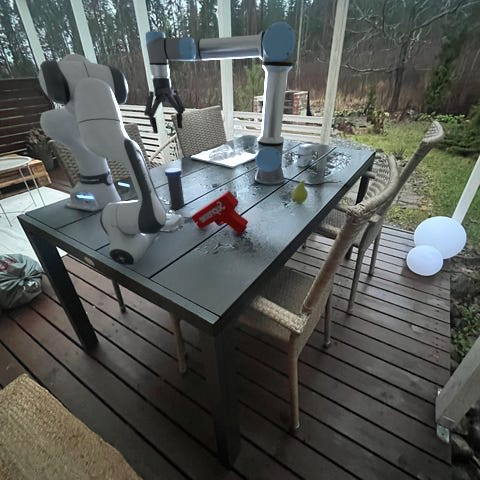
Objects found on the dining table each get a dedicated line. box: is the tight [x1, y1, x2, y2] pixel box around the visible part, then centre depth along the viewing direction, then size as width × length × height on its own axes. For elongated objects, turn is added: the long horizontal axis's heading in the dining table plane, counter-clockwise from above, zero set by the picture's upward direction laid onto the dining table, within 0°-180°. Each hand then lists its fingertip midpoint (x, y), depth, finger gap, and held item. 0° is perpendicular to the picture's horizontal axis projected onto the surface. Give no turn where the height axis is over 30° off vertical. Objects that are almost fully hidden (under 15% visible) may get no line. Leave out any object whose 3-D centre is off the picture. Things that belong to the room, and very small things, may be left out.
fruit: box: [291, 174, 311, 204], centre depth 118 cm, size 7×8×12 cm
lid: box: [164, 166, 182, 178], centre depth 111 cm, size 6×6×2 cm
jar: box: [166, 174, 185, 210], centre depth 115 cm, size 6×6×16 cm
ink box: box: [296, 143, 314, 168], centre depth 163 cm, size 8×5×12 cm, turn 135°
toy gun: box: [190, 190, 249, 236], centre depth 99 cm, size 18×4×15 cm
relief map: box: [190, 143, 256, 169], centre depth 179 cm, size 27×35×5 cm
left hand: (160, 211), depth 102 cm, fingers open, 8 cm apart
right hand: (168, 130), depth 126 cm, fingers open, 13 cm apart
